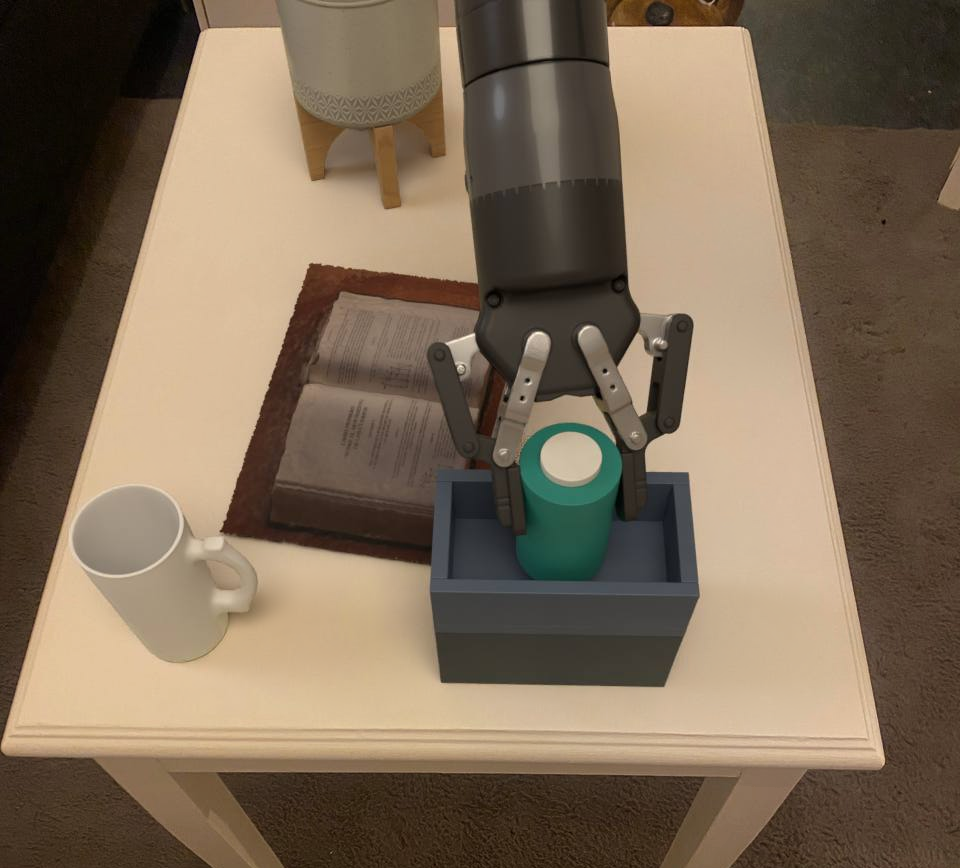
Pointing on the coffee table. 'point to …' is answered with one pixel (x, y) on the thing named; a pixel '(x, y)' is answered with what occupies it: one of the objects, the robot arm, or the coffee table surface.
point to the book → (360, 416)
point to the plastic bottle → (567, 501)
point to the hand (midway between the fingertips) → (573, 524)
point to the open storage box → (560, 594)
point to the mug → (158, 570)
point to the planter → (364, 76)
